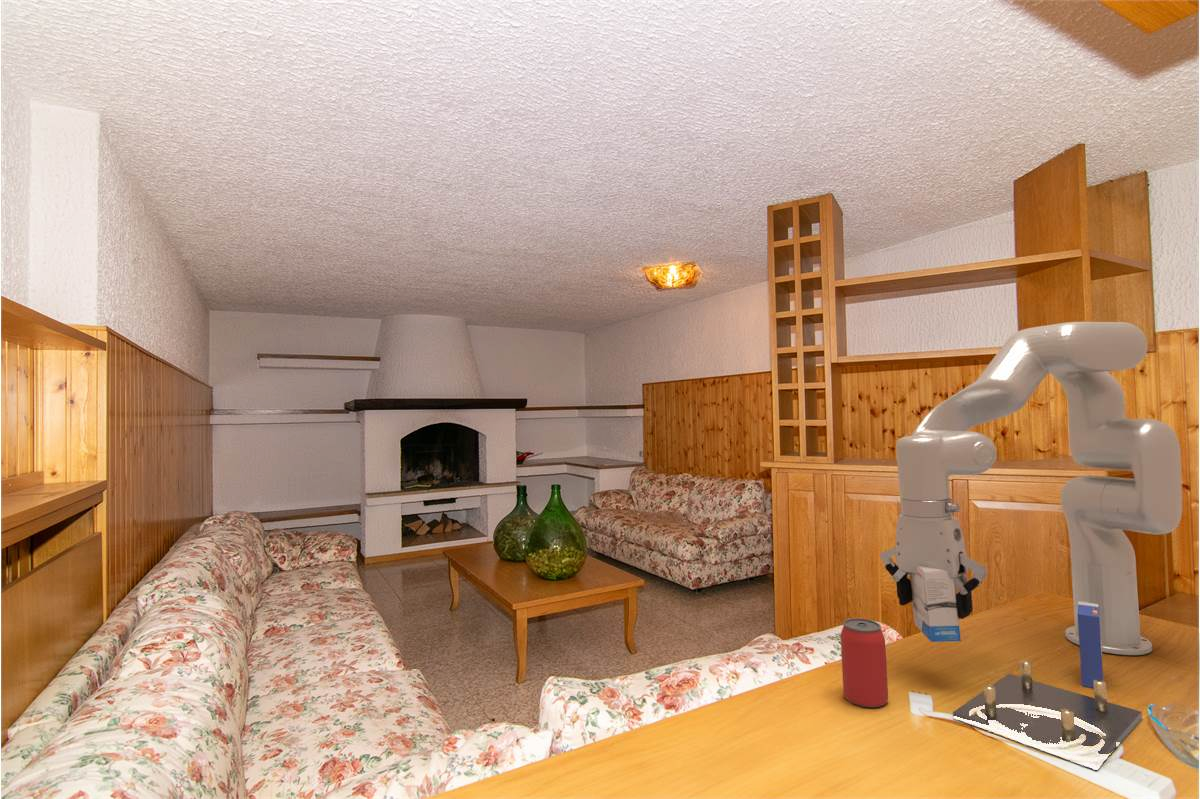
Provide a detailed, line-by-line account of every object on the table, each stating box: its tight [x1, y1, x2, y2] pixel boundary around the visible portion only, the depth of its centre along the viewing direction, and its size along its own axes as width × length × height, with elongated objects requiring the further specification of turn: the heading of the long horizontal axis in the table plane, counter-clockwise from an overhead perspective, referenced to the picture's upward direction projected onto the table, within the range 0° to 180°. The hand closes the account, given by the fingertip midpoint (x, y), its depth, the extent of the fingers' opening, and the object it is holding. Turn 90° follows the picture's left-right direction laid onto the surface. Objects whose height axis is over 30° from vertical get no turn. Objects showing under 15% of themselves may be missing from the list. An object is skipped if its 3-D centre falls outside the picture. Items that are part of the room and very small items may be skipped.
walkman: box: [1078, 601, 1104, 689], centre depth 100 cm, size 8×3×12 cm, turn 141°
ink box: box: [909, 565, 962, 643], centre depth 102 cm, size 9×5×12 cm, turn 168°
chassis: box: [952, 659, 1143, 754], centre depth 88 cm, size 20×17×5 cm
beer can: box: [840, 617, 889, 708], centre depth 96 cm, size 7×7×12 cm
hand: (934, 609), depth 102 cm, fingers closed on ink box, 9 cm apart
